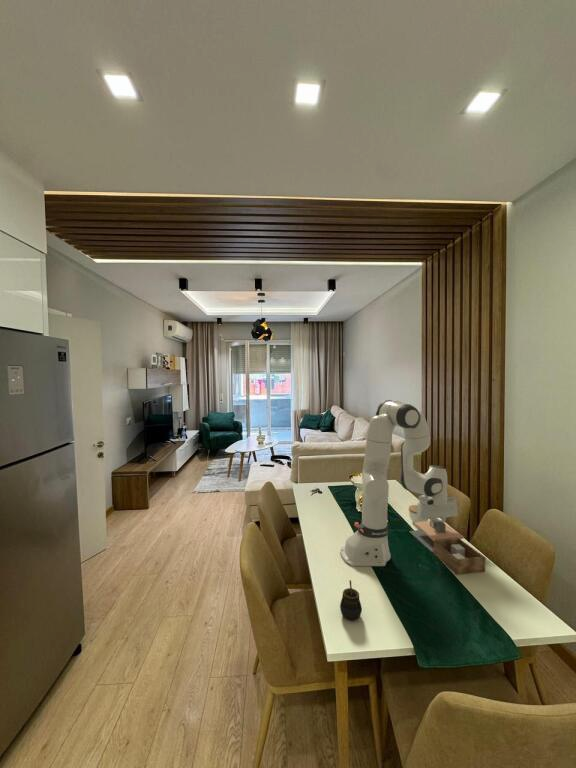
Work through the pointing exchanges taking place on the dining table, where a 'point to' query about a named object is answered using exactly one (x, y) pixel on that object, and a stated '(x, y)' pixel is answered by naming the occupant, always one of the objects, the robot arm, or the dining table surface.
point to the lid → (438, 530)
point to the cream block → (458, 556)
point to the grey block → (457, 549)
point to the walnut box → (459, 566)
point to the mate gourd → (350, 604)
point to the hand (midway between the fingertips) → (437, 525)
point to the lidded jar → (415, 514)
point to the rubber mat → (423, 539)
